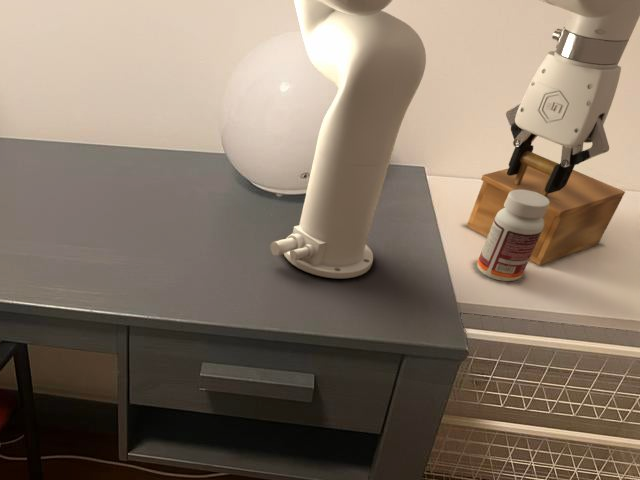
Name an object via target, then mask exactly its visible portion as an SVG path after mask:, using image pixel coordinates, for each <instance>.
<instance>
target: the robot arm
mask: <svg viewBox="0 0 640 480" xmlns="http://www.w3.org/2000/svg"><path fill="white" fill-rule="evenodd" d="M293 1H294V7H295V10H296V14H297V19H298V22H299V23H298V24H299V27H300V31H301V35H302V40H303V43H304V47H305V51H306V53H307V55H308V58H309V60H310V62H311V64H312V65H313V67H314V68H315V69H316V70H317V71H318V72H319V73H320V74H321V75H322V76H324V77H325V78H326V79H327V80H329V81H330V82H332V83H333V84H334V85H335V86H336V87H337V93H336V95H335V97H334V99H333V101H332V103H331V105H330V106H329V108H328V110H327V112H326V114H325V115H324V118H323V120H322V123H321V125H320V129H319V133H318V137H317V141H316V147H315V151H314V157H313V161H312V165H311V170H310V175H309V179H308V184H307V189H306V192H305V197H304V202H303V207H302V211H301V216H300V219H299V220H300V221H299V225H295V226H293V231H292V233H291V234H289V235H288V236H286V238H285V239H279V240H276V241H272V242H271V243H270V247H269V248H270V252H271V254H272V255H273V256H279V255H284V257H285V258H286V259H287V261H288V262H289V263H290V264H291V265H293V267H296V268H297V269H298V270H301V271H304V272H306V273H308V274H311V275H314V276H318V277H322V278H327V279H328V278H329V279H339V280H340V279H351V278H352V279H353V278H356V277H359V276H363V275H364V274H366V273H368V271H369V270H371V267H372V266H373V261H374V254H373V251H372V250H371V248H370V247H369V246H368V245H367V241H368V239H369V235H370V231H371V228H372V225H373V221H374V217H375V215H376V210H377V207H378V203H379V200H380V197H381V192H382V190H383V187H384V183H385V180H386V176H387V172H388V170H389V167H390V166H389V165H390V162H391V158H392V155H393V151H394V149H395V148H394V147H395V144H396V141H397V138H398V136H399V135H398V134H399V132H400V129H401V126H402V123H403V121H404V118H405V117H406V116H405V115H406V114H407V111H408V109H409V106H410V105H411V102H412V101H413V99H414V97H415V95H416V93H417V90H418V89H419V87H420V85H421V82H422V80H423V77H424V74H425V70H426V64H427V54H426V49H425V45H424V43H423V40H422V39H421V36H420V35H419V34H418V32H417V31H416V30H415V29H414V28H413V27H411V25H409V24H408V23H406V22H405V21H403V20H401V19H399V18H398V17H396V16H394V15H392V14H390V13H388V12H386V11H384V9H385V8H386V7H388V6H389V5H390V4H391V3H392V2H393V0H293ZM539 1H540V2H543V3H545V4H548V5H551V6H554V7H558V8H559V9H560V8H561V9H563V10H566V11H568V12H570V14H569V16H568V18H567V21H566V23H565V26H563V28H562V29H561V28H557V29H555V30H554V32H553V33H552V37H551V38H552V40H554V41H556V42H557V44H556V47H555V50H550V51H548V52H547V53H546V55H545V57H544V58H543V60H542V62H541V63H540V65H539V67H538V68H537V70H536V72H535V73H534V75H533V77H532V79H531V81H530V83H529V85H528V87H527V89H526V90H525V93H524V95H523V97H522V100H521V101H520V103H518V104H517V105H515V106H513V107H512V108H510V109H508V110H507V111H506V112H505V117H506V119H507V121H508V125H509V126H510V132H511V134H512V137H513V141H512V145H513V146H514V149H513V152H512V155H511V157H510V159H509V162H508V168H507V169H508V171H507V175H509V176H512V175H516V174H517V173H518V171H519V168H520V166H521V162H520V158H521V156H522V154H523V153H524V152H526V151H530V152H532V153H533V151H534V145H532V143H533V142H534V141H535V139H536V138H537V137H539V138H542V139H545V140H547V141H549V142H552V143H554V144H557V145H560V146H561V155H560V163H558V165H556V166H555V167H554V169H553V171H552V174H551V176H550V178H549V180H548V183H547V185H546V187H545V192H547V193H552V192H556V191H559V190H561V189H562V188H563V187H564V186H565V185H566V184H567V181H568V179H569V177H570V175H571V173H572V170H574V168H575V166H576V165H580V164H581V163H583V162H585V161H588V160H590V159H593V158H595V157H597V156H600V155H603V154H605V153H608V152H609V150H610V144H609V141H608V137H607V134H606V131H605V128H604V124H605V123H606V119H607V117H608V114H609V112H610V109H611V106H612V104H613V101H614V98H615V95H616V92H617V88H618V85H619V80H620V78H621V77H620V76H621V72H622V67H621V66H620V65H619V63H620V61H621V59H622V56H623V54H624V52H625V50H626V48H627V46H628V44H629V41H630V39H631V36H632V34H633V32H634V30H635V28H636V26H637V23H638V21H639V19H640V0H539ZM584 143H586V144H589V143H592V145H591V147H589V148H586V149H584Z"/></svg>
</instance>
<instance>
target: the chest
mask: <svg viewBox="0 0 640 480" xmlns="http://www.w3.org/2000/svg"><path fill="white" fill-rule="evenodd" d="M508 194H509V193H508V192H505V191H503V190H501V189H499V188H497V187H495V186H493V185H491V184H489V183H487V182H484V181H482V184H481V187H480V189H479V192H478V195H477V197H476V199H475V202H474V205H473V208H472V210H471V213H470V215H469V218H468V221H467V224H466V227H467V228H469V229H470V230H472V231H475V232H477V233H478V234H480V235H481V236H484V237H485V238H487V237H488V234H489V232H490V229H491V227H492V224H493V222H494V219H495V217H496V215H497V213H498V212H499V211H500V210H501V209H503V208H505V207H504V203H505V201H506V199H507V196H508ZM622 199H623V197H620V198H617V199H614V200H611V201H607V202H604V203H601V204H598V205H595V206H592V207H588V208H585V209H582V210H579V211H576V212H573V213H569V214H566V215H563V216H560V217H558V216H556V215H554V214H552V213H550V212H548V211H546V213H545V215H544V216H543V217H542V218H543V220H544V227H543V230H542V232H541V234H540V237H539V239H538V241H537V243H536V245H535V248H534V250H533V252H532V254H531V257H530V259H529V261H531V262H532V263H534V264H536V265H539V266H541V265H544V264H548V263H549V262H553V261H555V260H559V259H560V258H564V257H567V256H570V255H571V254H575V253H578V252H580V251H583V250H586V249H589V248H592V247H595V246H597V245H599V243H600V242H601V240H602V238H603V237H604V235H605V233H606V231H607V228H608V227H609V225H610V223H611V221H612V218H613V217H614V214H615V213H616V211H617V209H618V207H619V205H620V203H621V201H622Z"/></svg>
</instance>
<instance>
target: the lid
mask: <svg viewBox="0 0 640 480" xmlns="http://www.w3.org/2000/svg"><path fill="white" fill-rule="evenodd" d="M520 162H521V166H520V168H519V171H518V173H517V174H516V175H512V176H509V175H507V171H508V168H505V169H500V170H497V171H493V172H488V173H485V174H482V176H481V178H480V180H481V181H482V182H483V181H484V182H487V183H489V184H491V185H493V186H495V187H497V188H499V189H501V190H503V191H505V192H508V193H509V192H511V191H513V190H529V191H533V192H537V193H539V194H541V195H543V196H545V197H546V198H548V200H549V206H548V208H547V210H546V211H548V212H550V213H552V214H554V215H556V216H558V217H560V216H563V215H566V214H569V213H573V212H576V211H579V210H582V209H585V208H588V207H592V206H595V205H598V204H601V203H604V202H607V201H611V200H614V199H617V198H620V197H622V198H623V197H624V195H625V193H626V191H624V190H622V189H620V188H618V187H615V186H613V185H610V184H608V183H606V182H603V181H601V180H599V179H596V178H594V177H591V176H590V175H587V174H585V173H582V172H579V171H577V170H575V169H573V170H572V173H571V175H570V177H569V179H568V181H567V184H566V185H565V186H564V187H563V188H562V189H561V190H559V191H556V192H552V193H547V192H545V187H546V185H547V183H548V180H549V178H550V176H551V174H552V171H553V169H554V167H555V166H556V165H558V164H559V163H558V162H556V161H553V160H552V159H549V158H546V157H544V156H542V155H539V154H537V153H535V152H533V151H532V152H530V151H526V152H524V153H523V154H522V156H521V158H520Z"/></svg>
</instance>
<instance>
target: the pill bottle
mask: <svg viewBox="0 0 640 480" xmlns="http://www.w3.org/2000/svg"><path fill="white" fill-rule="evenodd" d="M548 206H549V200H548V198H546V197H545V196H543V195H541V194H539V193H537V192H533V191H529V190H513V191H511V192H509V194H508V196H507V199H506V201H505V203H504V207H505V208H503V209H501V210H500V211H499V212H498V213H497V215H496V217H495V219H494V222H493V224H492V227H491V229H490V232H489V234H488V237H486V239H485V242H484V244H483V247H482V249H481V252H480V255H479V257H478V260H477V263H476V266H477V269H478V270H479V271H480V272H481V273H482V274H483V275H485V276H487V277H488V278H491V279H493V280H496V281H503V282H511V281H517V280H519V279H520V278H522V276H523V275H524V272H525V270H526V268H527V266H528V263H529V261H530V260H529V259H530V257H531V254H532V252H533V250H534V248H535V245H536V243H537V241H538V239H539V237H540V234H541V232H542V230H543V227H544V220H543V218H542V217H543V216H544V215H545V213H546V210H547V208H548Z"/></svg>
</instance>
